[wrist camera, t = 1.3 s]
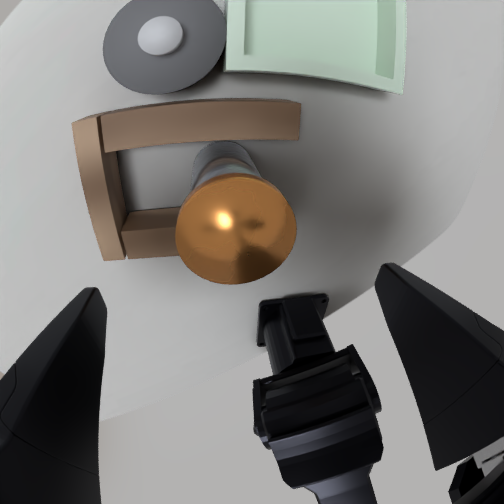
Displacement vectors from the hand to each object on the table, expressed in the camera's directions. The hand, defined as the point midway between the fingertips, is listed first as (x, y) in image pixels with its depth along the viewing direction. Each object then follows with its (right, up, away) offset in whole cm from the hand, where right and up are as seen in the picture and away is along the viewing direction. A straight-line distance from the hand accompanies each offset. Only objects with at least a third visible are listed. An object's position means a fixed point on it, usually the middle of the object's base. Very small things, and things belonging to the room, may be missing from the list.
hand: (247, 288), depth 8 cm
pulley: (-4, +12, +3) cm, 13 cm away
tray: (+4, +15, +2) cm, 16 cm away
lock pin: (-2, +6, +8) cm, 10 cm away
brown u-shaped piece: (-4, +6, +8) cm, 10 cm away
